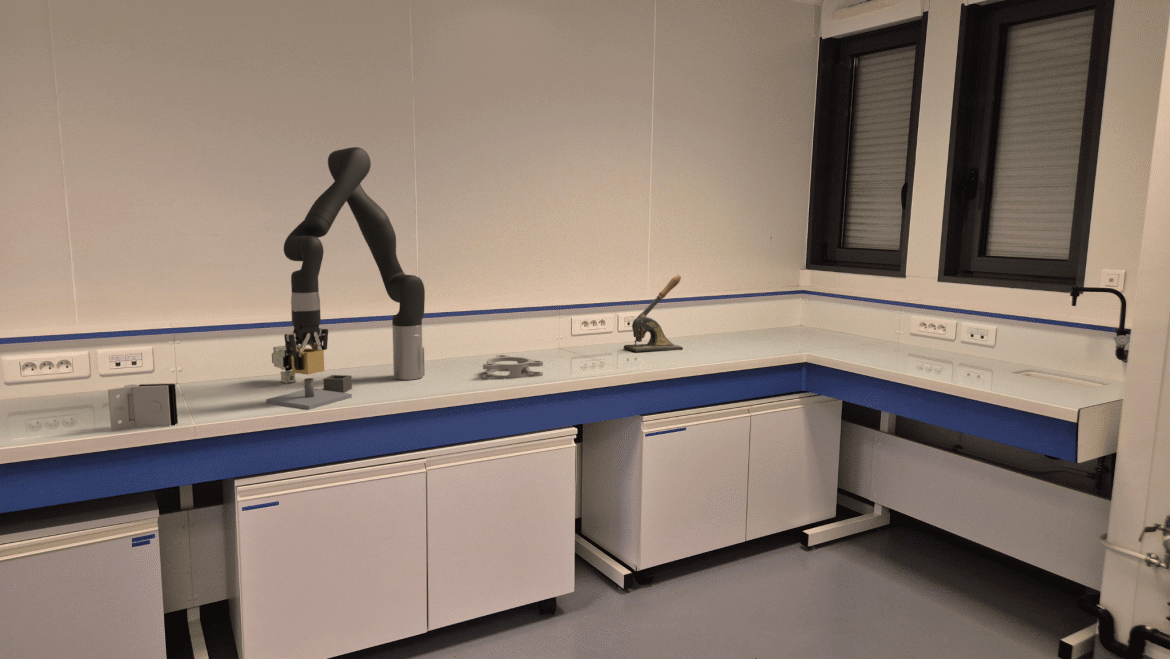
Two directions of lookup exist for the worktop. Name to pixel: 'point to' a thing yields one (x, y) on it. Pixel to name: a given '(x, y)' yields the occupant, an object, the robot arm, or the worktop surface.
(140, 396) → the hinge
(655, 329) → the embossing press
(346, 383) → the grey hollow square block
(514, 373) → the mechanical component
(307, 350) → the brass collar
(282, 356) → the pneumatic valve
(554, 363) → the worktop surface
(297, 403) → the post block
